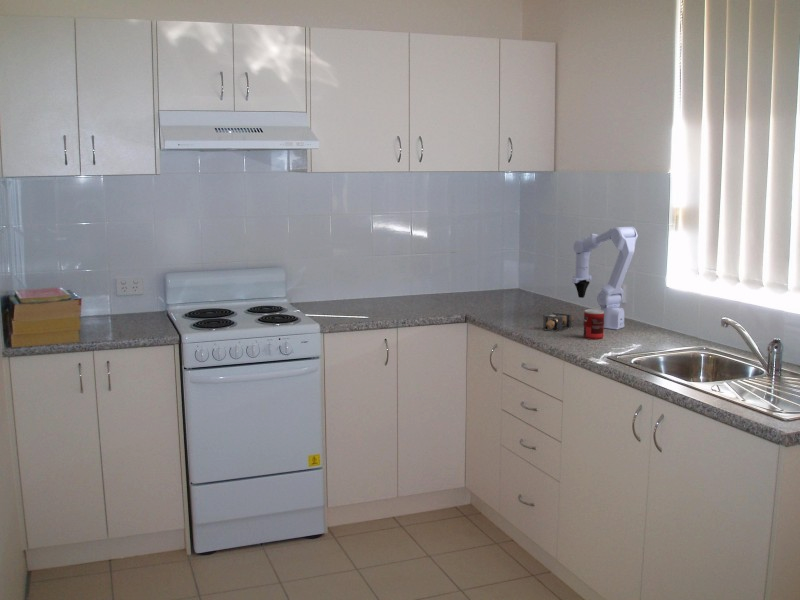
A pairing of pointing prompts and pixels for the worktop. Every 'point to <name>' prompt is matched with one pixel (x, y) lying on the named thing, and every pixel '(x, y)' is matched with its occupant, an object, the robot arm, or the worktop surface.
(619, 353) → the worktop surface
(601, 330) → the canned food
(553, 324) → the tube
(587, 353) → the worktop surface
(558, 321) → the firebox
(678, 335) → the worktop surface
